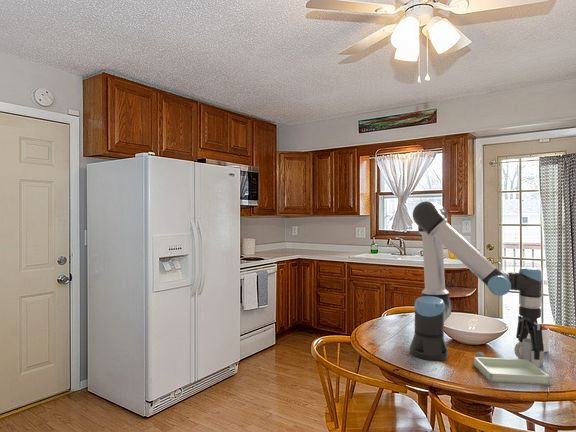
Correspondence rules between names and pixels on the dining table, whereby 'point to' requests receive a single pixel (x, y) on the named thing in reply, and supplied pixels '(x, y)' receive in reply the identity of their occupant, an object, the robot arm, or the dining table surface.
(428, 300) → the robot arm
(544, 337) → the cup
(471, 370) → the dining table surface
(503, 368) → the tray
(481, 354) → the mixing ball
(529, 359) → the cup
